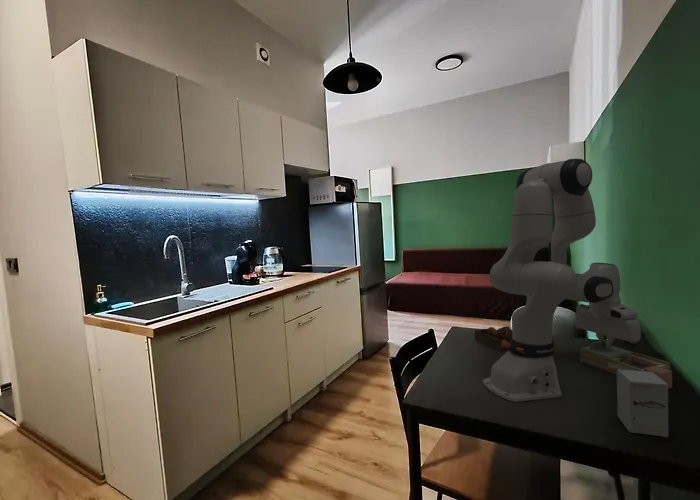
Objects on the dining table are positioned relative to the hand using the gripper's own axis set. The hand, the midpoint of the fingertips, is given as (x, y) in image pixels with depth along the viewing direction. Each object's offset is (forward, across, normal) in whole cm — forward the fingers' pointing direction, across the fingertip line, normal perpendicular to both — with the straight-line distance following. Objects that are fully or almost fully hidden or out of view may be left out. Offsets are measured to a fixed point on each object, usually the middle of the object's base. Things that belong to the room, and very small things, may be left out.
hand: (605, 347), depth 115 cm
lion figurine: (+6, -30, -20) cm, 37 cm away
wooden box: (+6, +5, 0) cm, 8 cm away
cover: (+2, 0, 0) cm, 2 cm away
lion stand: (+6, -31, -21) cm, 38 cm away
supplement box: (+6, +30, -30) cm, 43 cm away
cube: (+6, +18, -4) cm, 19 cm away
